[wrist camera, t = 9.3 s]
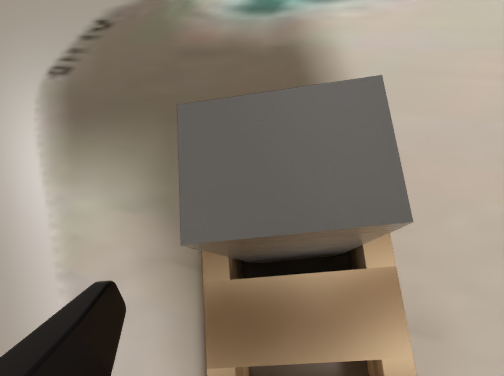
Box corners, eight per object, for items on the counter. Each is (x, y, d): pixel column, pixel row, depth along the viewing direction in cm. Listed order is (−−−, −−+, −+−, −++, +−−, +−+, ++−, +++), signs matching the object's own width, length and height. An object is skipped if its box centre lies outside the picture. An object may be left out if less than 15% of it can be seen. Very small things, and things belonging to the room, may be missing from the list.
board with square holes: (415, 498, 16) (452, 568, 12) (233, 500, 17) (214, 566, 13) (356, 151, 21) (369, 123, 17) (215, 168, 22) (197, 145, 18)
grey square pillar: (338, 255, 19) (413, 222, 7) (253, 263, 20) (180, 245, 7) (328, 191, 20) (378, 60, 8) (248, 200, 21) (176, 90, 8)
